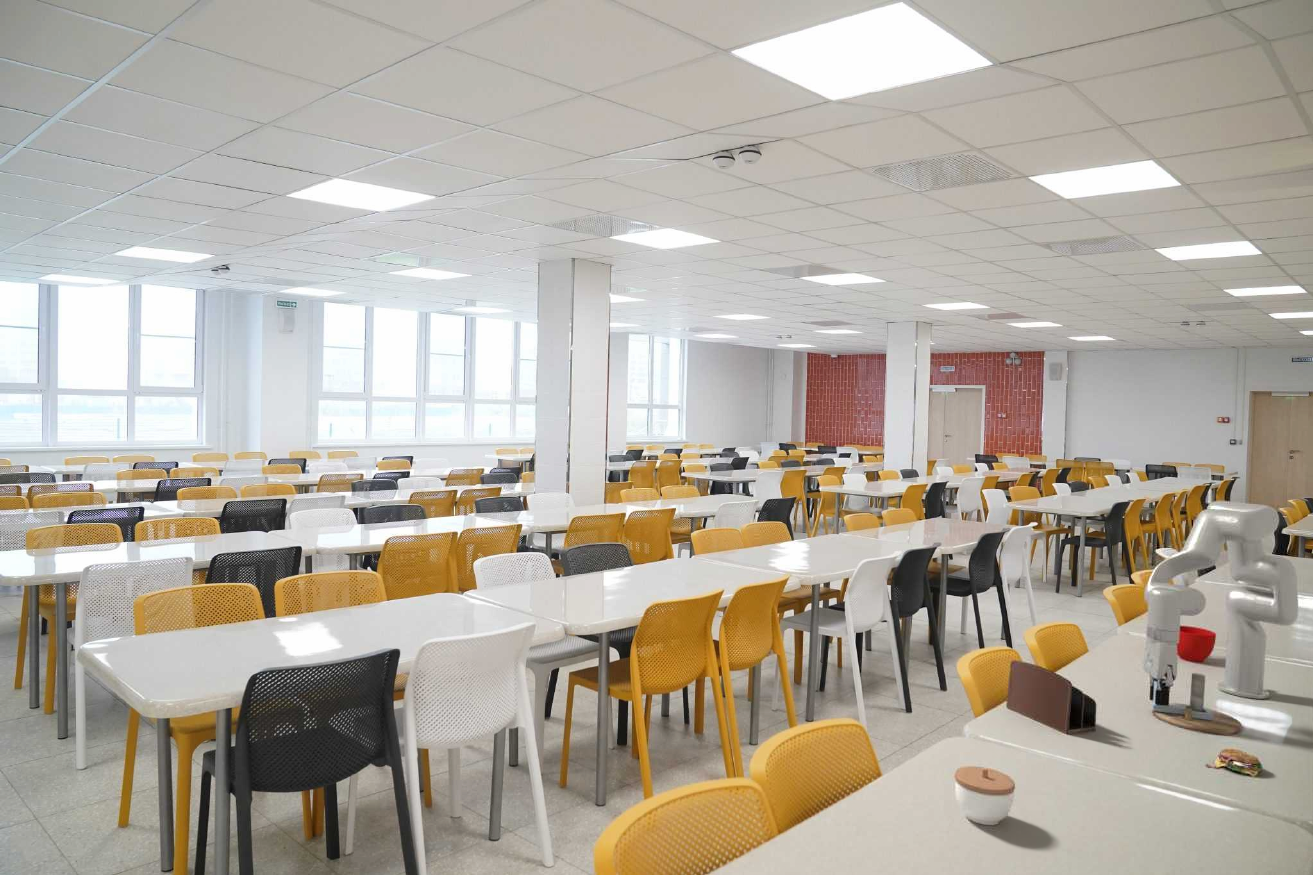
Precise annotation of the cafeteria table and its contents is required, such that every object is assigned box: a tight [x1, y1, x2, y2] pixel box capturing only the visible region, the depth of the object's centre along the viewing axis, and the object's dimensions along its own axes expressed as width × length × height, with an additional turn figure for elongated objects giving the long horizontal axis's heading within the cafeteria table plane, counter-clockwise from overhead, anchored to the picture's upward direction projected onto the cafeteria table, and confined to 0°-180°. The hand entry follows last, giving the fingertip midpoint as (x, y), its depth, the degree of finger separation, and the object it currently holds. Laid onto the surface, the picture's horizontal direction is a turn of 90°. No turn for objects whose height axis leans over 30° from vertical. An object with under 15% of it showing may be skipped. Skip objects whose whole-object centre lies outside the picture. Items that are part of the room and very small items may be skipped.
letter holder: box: [1005, 660, 1097, 735], centre depth 219 cm, size 10×20×14 cm, turn 22°
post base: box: [1151, 672, 1243, 736], centre depth 223 cm, size 20×20×12 cm
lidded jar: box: [954, 765, 1016, 826], centre depth 161 cm, size 11×11×9 cm
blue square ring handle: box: [1149, 681, 1213, 720], centre depth 224 cm, size 14×6×8 cm, turn 74°
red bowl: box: [1177, 625, 1217, 663], centre depth 287 cm, size 13×17×10 cm
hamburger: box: [1204, 748, 1263, 778], centre depth 192 cm, size 14×14×6 cm
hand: (1159, 702), depth 225 cm, fingers closed on blue square ring handle, 2 cm apart
